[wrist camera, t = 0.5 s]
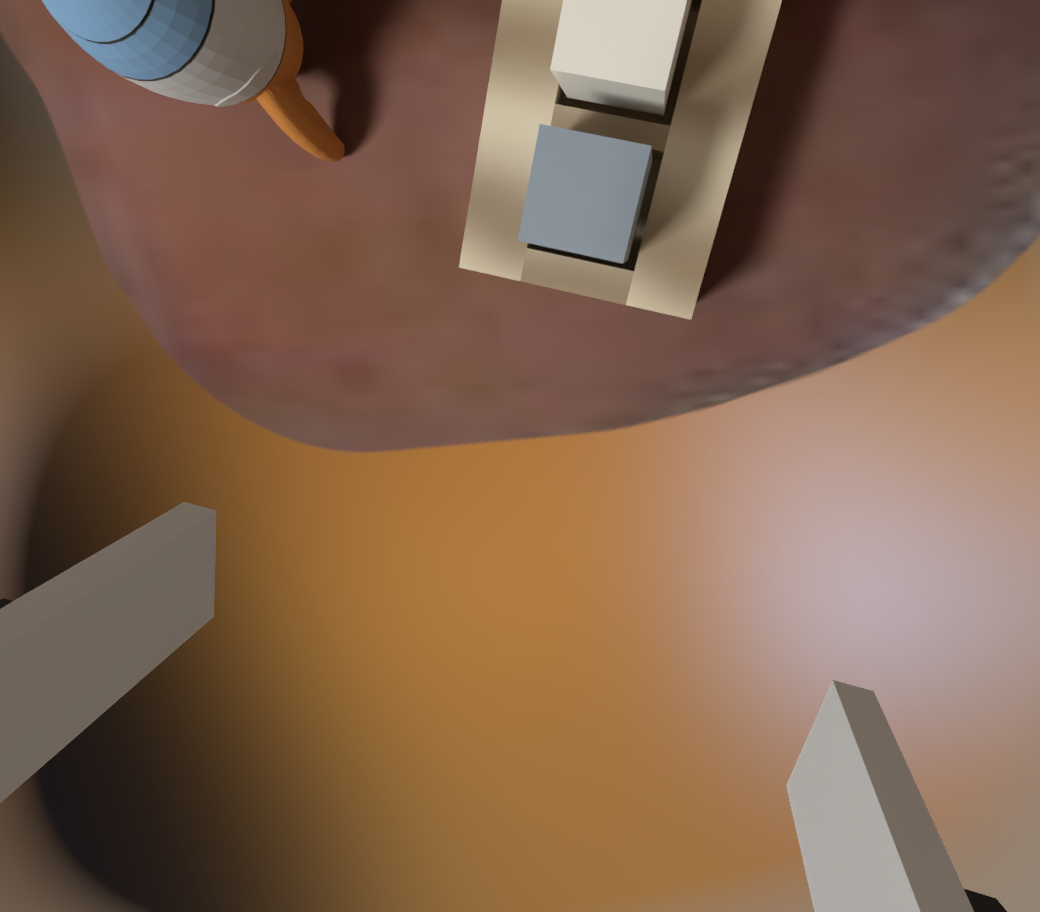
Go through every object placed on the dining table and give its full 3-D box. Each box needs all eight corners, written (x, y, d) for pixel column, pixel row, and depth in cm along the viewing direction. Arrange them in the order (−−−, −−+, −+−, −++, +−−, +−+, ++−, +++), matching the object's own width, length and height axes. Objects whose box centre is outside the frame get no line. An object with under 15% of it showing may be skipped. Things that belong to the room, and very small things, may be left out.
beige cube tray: (565, -200, 29) (548, -284, 25) (819, -166, 28) (852, -248, 23) (484, 263, 36) (458, 267, 31) (686, 309, 35) (691, 319, 30)
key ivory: (590, -16, 27) (576, -69, 23) (691, 1, 27) (699, -50, 22) (567, 97, 29) (550, 69, 24) (663, 115, 28) (664, 90, 24)
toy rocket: (389, 161, 36) (166, 179, 24) (234, 154, 40) (-32, 166, 27) (375, -75, 32) (89, -209, 19) (201, -61, 35) (-140, -166, 22)
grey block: (558, 142, 29) (540, 123, 25) (652, 161, 29) (651, 145, 24) (538, 240, 31) (517, 240, 26) (628, 260, 30) (622, 263, 26)
